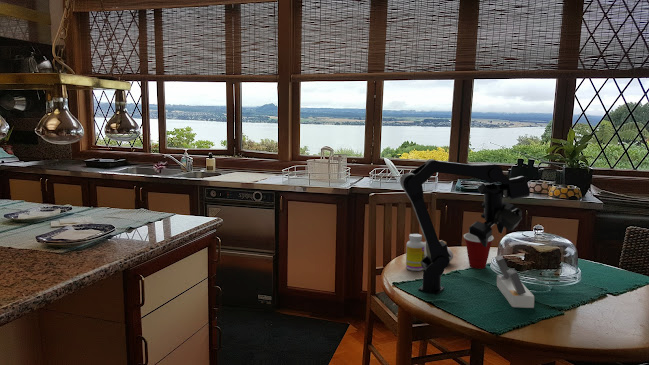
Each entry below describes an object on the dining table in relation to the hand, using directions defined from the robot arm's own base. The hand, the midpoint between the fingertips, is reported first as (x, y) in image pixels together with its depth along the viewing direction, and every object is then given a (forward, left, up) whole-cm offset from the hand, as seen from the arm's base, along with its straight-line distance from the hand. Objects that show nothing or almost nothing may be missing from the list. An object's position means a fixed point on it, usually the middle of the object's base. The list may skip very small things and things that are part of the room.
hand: (492, 239), depth 150 cm
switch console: (-9, -10, -15) cm, 20 cm away
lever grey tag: (-3, -6, -11) cm, 13 cm away
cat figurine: (+11, +25, -15) cm, 32 cm away
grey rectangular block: (-15, -13, -11) cm, 23 cm away
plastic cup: (+14, +9, -15) cm, 23 cm away
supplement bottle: (-2, +27, -15) cm, 31 cm away
